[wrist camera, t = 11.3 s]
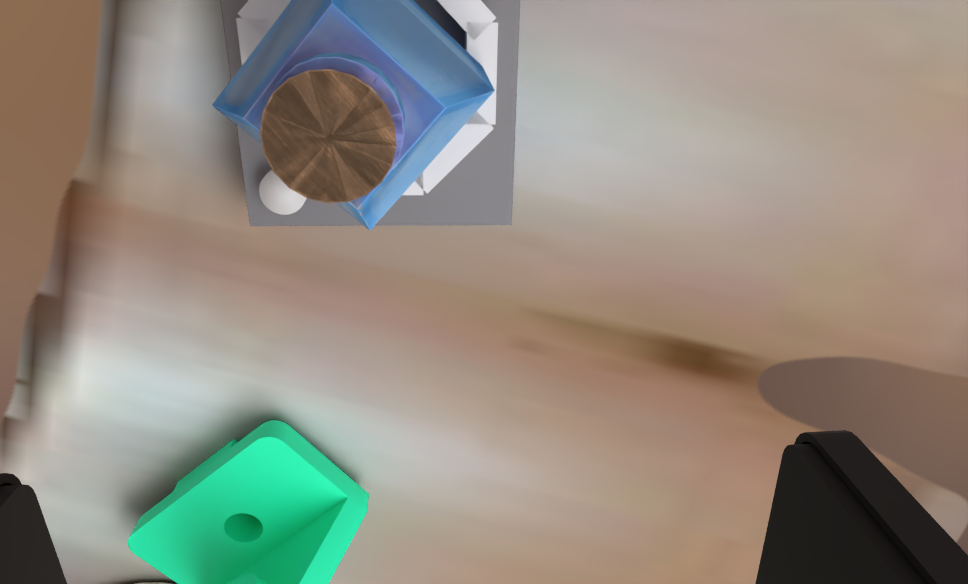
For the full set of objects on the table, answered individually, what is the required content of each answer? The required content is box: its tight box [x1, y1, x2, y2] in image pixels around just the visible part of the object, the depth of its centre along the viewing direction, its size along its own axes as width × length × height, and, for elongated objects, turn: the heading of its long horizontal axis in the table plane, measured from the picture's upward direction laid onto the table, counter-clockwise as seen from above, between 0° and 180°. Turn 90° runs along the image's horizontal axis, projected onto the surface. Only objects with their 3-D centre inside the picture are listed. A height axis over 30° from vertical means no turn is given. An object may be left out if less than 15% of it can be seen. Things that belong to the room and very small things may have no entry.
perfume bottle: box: [212, 0, 495, 230], centre depth 22 cm, size 6×6×12 cm
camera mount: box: [128, 420, 369, 584], centre depth 37 cm, size 12×8×10 cm, turn 128°
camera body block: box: [221, 0, 520, 226], centre depth 29 cm, size 14×12×5 cm
